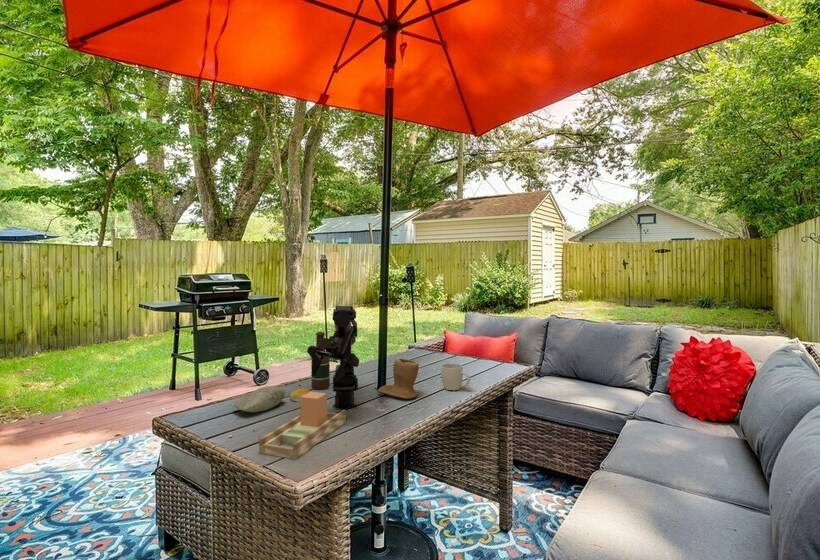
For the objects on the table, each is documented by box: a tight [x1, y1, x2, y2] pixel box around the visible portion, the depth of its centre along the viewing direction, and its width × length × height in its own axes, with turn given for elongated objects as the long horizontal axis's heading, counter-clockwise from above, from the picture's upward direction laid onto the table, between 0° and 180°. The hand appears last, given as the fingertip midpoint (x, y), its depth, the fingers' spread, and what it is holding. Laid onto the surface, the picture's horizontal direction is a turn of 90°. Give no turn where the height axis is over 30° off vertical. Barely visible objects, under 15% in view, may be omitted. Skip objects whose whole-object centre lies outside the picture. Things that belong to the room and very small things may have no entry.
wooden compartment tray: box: [258, 409, 347, 460], centre depth 135 cm, size 30×12×4 cm, turn 162°
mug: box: [440, 363, 471, 392], centre depth 185 cm, size 13×9×10 cm
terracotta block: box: [300, 391, 328, 427], centre depth 139 cm, size 6×6×9 cm
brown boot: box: [378, 357, 420, 399], centre depth 177 cm, size 15×12×15 cm
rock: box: [232, 385, 286, 414], centre depth 161 cm, size 8×11×20 cm
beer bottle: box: [310, 331, 331, 391], centre depth 188 cm, size 8×8×24 cm
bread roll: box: [289, 387, 312, 403], centre depth 173 cm, size 8×9×4 cm
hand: (323, 378), depth 148 cm, fingers open, 9 cm apart
